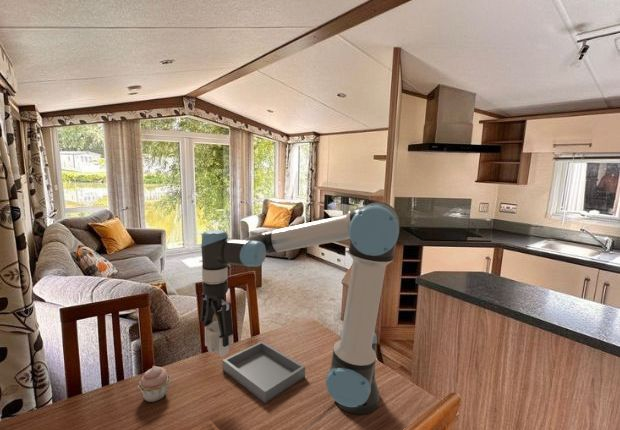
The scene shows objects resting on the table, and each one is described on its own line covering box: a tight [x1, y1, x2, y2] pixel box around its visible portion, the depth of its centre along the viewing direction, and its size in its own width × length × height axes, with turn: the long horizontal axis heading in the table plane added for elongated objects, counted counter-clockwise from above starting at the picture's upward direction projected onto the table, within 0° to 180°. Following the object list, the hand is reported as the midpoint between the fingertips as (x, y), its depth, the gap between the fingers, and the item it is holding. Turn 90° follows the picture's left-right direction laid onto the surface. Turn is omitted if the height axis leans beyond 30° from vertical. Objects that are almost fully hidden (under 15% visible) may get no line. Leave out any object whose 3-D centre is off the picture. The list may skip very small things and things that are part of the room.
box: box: [222, 341, 306, 404], centre depth 112 cm, size 24×18×4 cm
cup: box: [206, 320, 233, 355], centre depth 99 cm, size 11×8×8 cm
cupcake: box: [137, 365, 172, 403], centre depth 99 cm, size 9×9×10 cm
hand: (216, 349), depth 100 cm, fingers closed on cup, 8 cm apart
